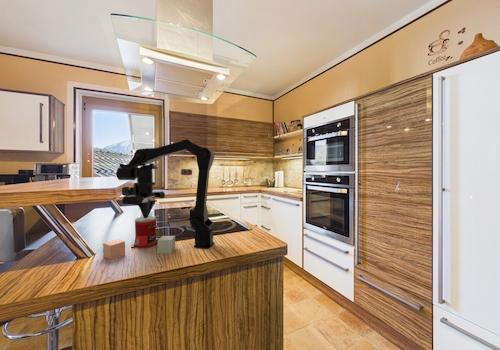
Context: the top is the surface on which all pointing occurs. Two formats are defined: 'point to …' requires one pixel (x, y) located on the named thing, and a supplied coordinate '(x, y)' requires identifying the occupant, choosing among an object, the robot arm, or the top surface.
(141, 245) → the canned food
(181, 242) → the top surface
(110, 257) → the terracotta block
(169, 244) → the sage block
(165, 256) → the top surface
